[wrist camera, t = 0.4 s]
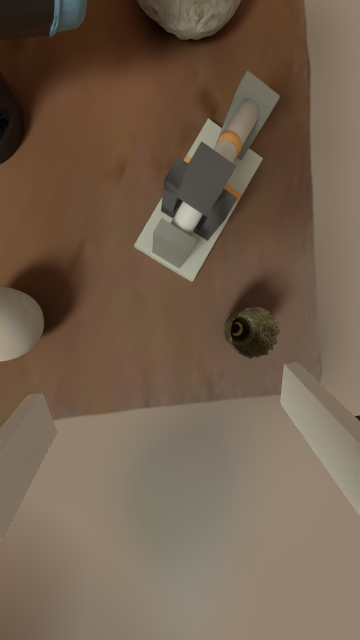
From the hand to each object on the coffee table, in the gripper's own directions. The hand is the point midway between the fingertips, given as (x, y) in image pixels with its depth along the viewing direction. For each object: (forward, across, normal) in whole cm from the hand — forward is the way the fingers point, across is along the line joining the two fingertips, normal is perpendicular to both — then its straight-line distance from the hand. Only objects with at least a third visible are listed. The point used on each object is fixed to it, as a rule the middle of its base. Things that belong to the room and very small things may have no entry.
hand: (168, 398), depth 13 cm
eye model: (+25, -22, -3) cm, 34 cm away
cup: (+26, +12, -8) cm, 30 cm away
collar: (+26, +5, +10) cm, 29 cm away
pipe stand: (+32, +8, +12) cm, 36 cm away
